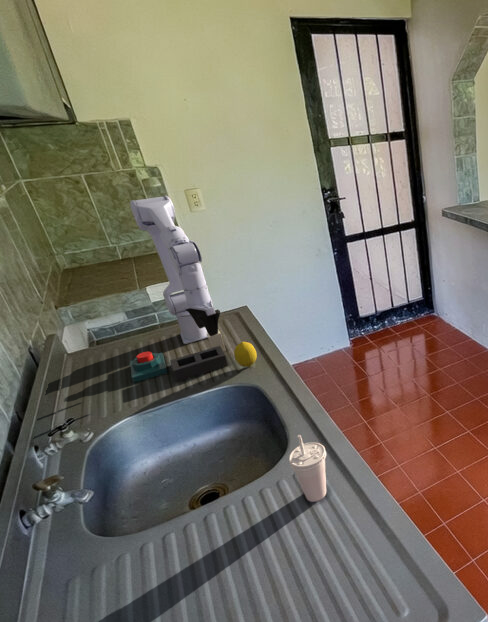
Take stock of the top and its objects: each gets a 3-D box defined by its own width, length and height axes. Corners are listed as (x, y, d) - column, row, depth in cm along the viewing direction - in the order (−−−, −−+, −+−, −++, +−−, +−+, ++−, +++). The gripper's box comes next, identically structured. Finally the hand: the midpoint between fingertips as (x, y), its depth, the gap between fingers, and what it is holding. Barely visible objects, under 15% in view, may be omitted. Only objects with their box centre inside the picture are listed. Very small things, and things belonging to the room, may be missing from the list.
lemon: (262, 361, 130) (256, 337, 127) (253, 372, 125) (246, 347, 122) (244, 361, 131) (238, 337, 127) (234, 371, 126) (227, 346, 122)
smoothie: (296, 487, 87) (282, 429, 81) (330, 476, 89) (318, 419, 83) (300, 512, 81) (284, 452, 75) (336, 500, 84) (324, 440, 78)
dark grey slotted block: (173, 370, 128) (170, 360, 126) (223, 355, 134) (220, 345, 133) (177, 382, 122) (173, 371, 121) (228, 365, 129) (225, 355, 127)
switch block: (131, 366, 131) (127, 355, 129) (163, 357, 135) (160, 347, 133) (133, 383, 123) (129, 372, 121) (167, 372, 127) (163, 362, 125)
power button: (138, 359, 128) (135, 354, 127) (152, 355, 130) (150, 350, 129) (138, 364, 125) (136, 359, 124) (153, 360, 127) (151, 355, 126)
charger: (211, 350, 138) (205, 329, 135) (223, 346, 139) (217, 326, 137) (213, 354, 135) (207, 333, 132) (226, 351, 137) (219, 330, 134)
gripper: (169, 285, 126) (184, 328, 131) (189, 297, 117) (203, 343, 122) (196, 277, 130) (209, 320, 136) (217, 289, 121) (230, 334, 127)
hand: (208, 330), depth 130 cm, fingers open, 7 cm apart
